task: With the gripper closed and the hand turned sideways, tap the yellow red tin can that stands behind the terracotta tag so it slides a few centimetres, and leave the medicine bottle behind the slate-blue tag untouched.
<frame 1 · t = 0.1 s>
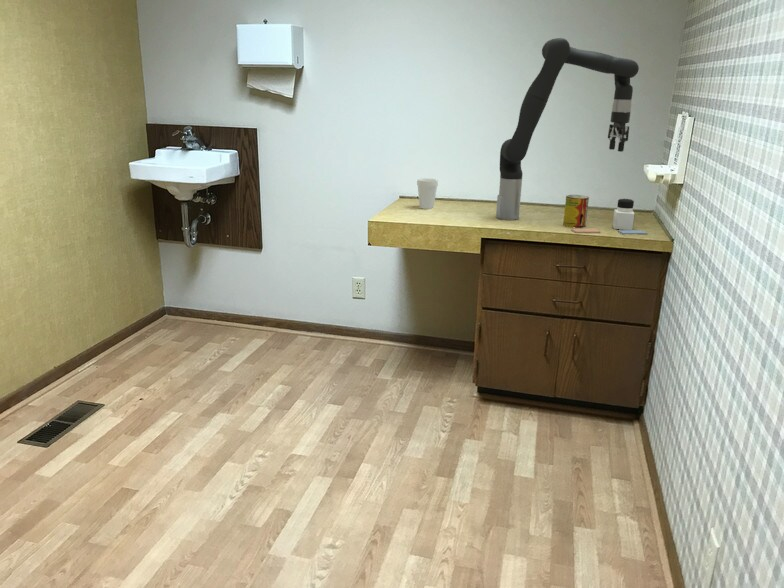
hand: (616, 150, 273), 29 cm above the worktop, tool pointing down, fingers open, 8 cm apart
medicine bottle: (622, 228, 262), on the worktop
yellow red tin can: (574, 225, 266), on the worktop
slate-blue tag: (632, 233, 254), on the worktop
foam cup: (426, 208, 297), on the worktop
terracotta tag: (585, 231, 255), on the worktop
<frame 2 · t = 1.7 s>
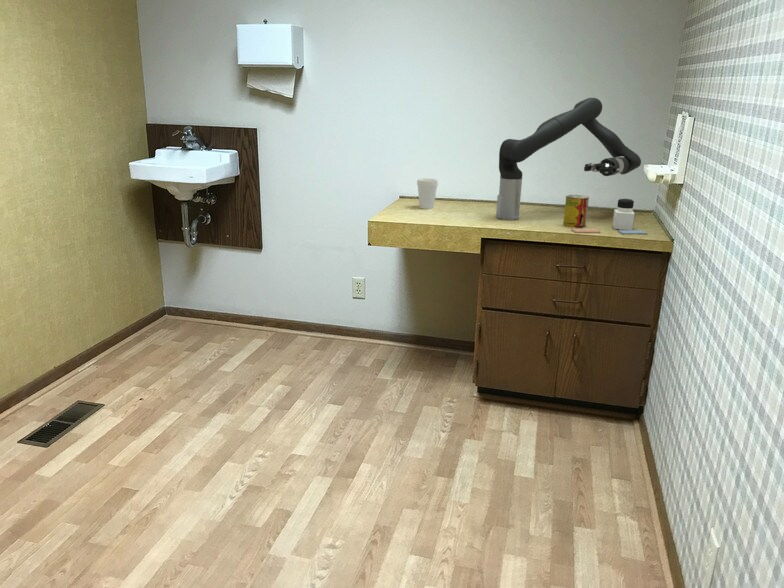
hand: (593, 169, 266), 22 cm above the worktop, tool horizontal, fingers open, 6 cm apart
nothing on the worktop moved.
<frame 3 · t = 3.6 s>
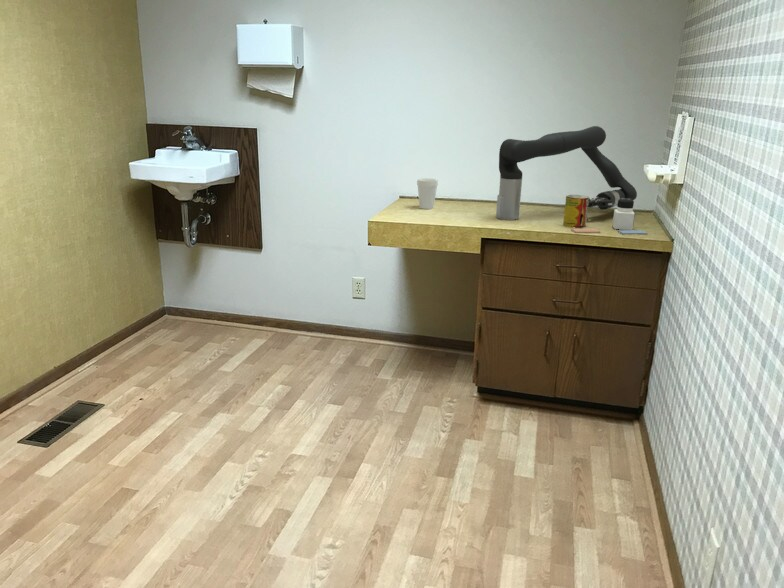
hand: (588, 204, 271), 7 cm above the worktop, tool horizontal, fingers closed
nothing on the worktop moved.
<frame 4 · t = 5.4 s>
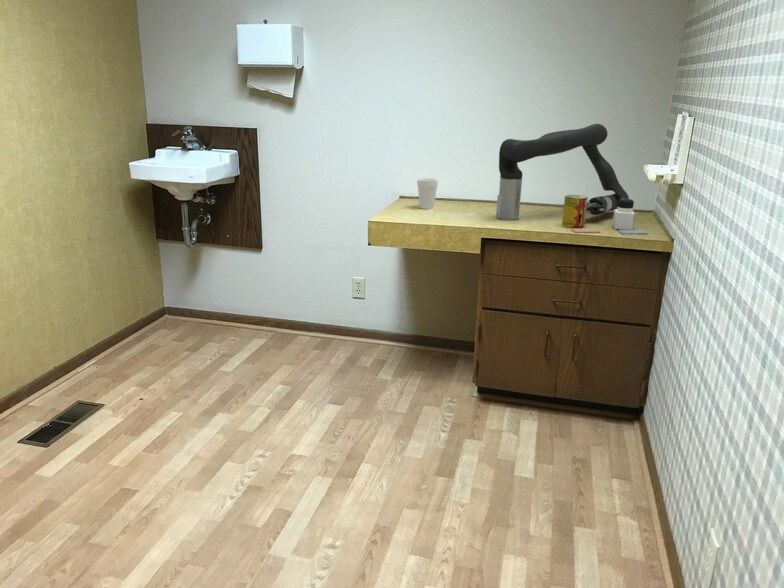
hand: (580, 209, 266), 6 cm above the worktop, tool horizontal, fingers closed
yellow red tin can: (573, 226, 265), on the worktop, touching gripper
everything else where it was.
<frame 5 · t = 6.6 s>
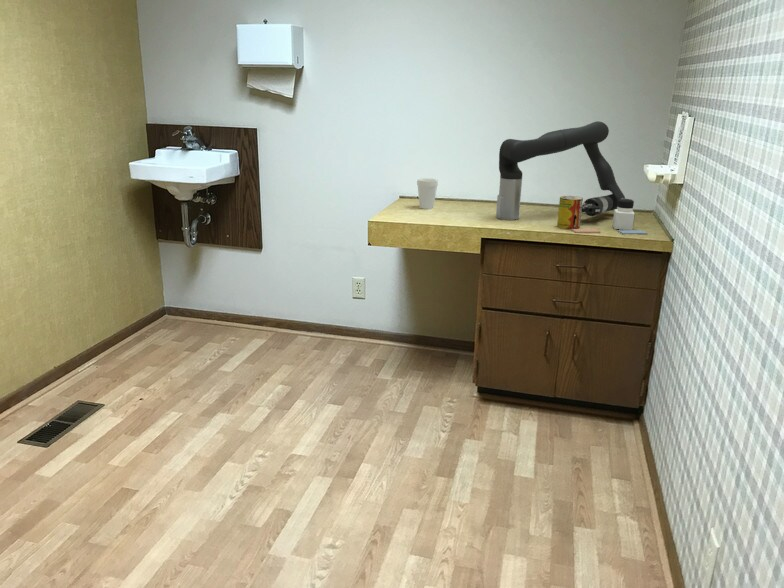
hand: (575, 210, 264), 6 cm above the worktop, tool horizontal, fingers closed
yellow red tin can: (568, 227, 263), on the worktop, touching gripper
everything else where it was.
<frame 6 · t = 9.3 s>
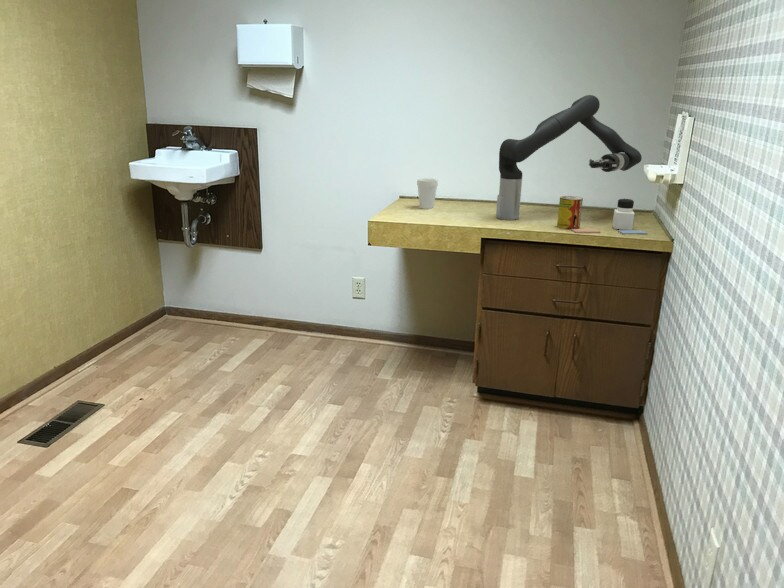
hand: (592, 165, 265), 24 cm above the worktop, tool horizontal, fingers closed
yellow red tin can: (568, 227, 263), on the worktop
everything else where it was.
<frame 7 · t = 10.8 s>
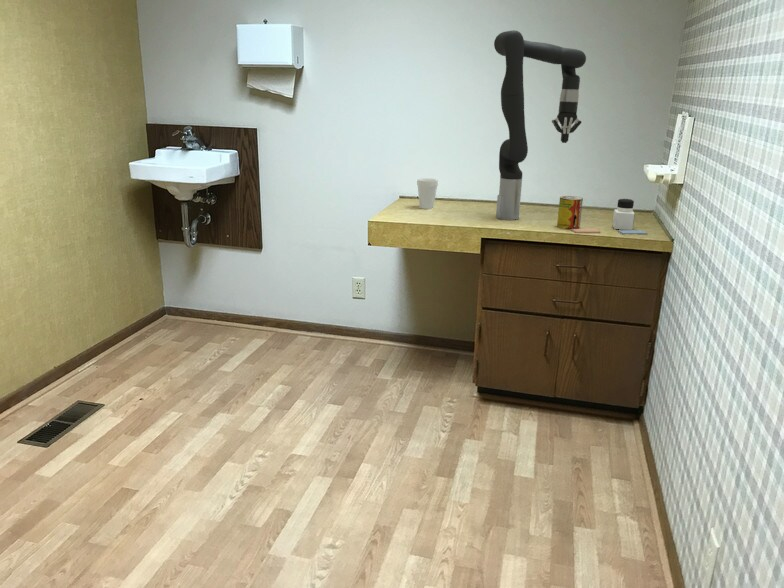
hand: (564, 142, 276), 32 cm above the worktop, tool pointing down, fingers closed
nothing on the worktop moved.
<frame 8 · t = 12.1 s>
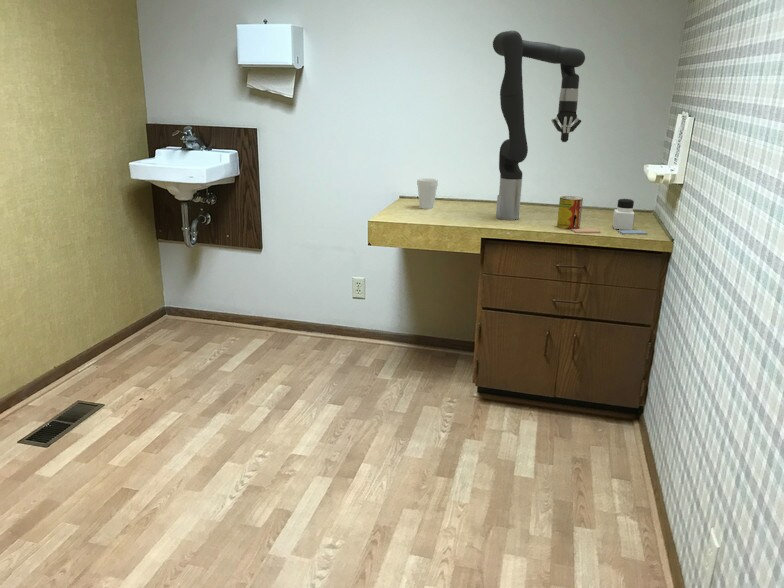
hand: (564, 141, 276), 32 cm above the worktop, tool pointing down, fingers closed
nothing on the worktop moved.
at the end: yellow red tin can moved 4.9 cm from its start; yellow red tin can tilted 0°; medicine bottle moved 0.2 cm from its start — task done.
